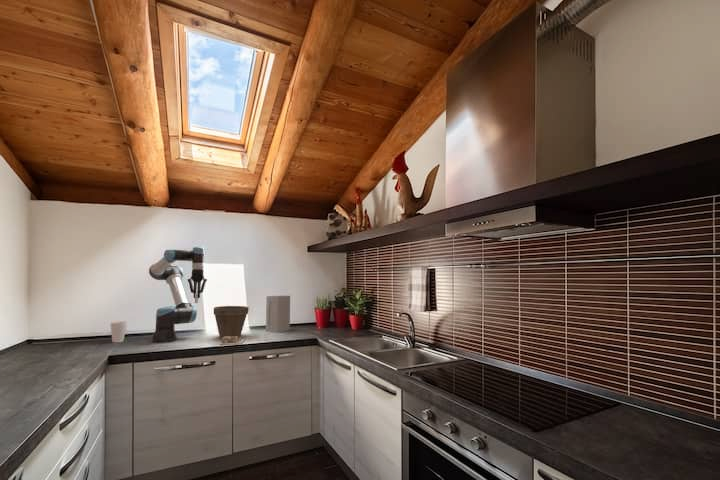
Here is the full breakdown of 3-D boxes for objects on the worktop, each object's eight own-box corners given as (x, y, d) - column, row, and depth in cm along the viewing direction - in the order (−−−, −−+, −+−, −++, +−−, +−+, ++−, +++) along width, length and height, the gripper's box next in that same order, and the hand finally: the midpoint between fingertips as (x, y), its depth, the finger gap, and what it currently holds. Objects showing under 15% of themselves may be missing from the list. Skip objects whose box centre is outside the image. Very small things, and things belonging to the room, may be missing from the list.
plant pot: (254, 335, 279) (255, 306, 280) (231, 340, 256) (231, 309, 258) (230, 332, 289) (230, 305, 291) (205, 337, 267) (206, 307, 269)
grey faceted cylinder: (267, 333, 287) (267, 297, 290) (265, 330, 301) (266, 296, 304) (291, 331, 293) (292, 296, 296) (289, 329, 307) (289, 295, 310)
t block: (222, 344, 244) (222, 338, 244) (225, 341, 252) (225, 336, 252) (236, 343, 245) (236, 337, 245) (238, 341, 253) (238, 335, 253)
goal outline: (219, 345, 241) (219, 343, 241) (224, 341, 254) (224, 340, 254) (241, 344, 243) (241, 343, 243) (244, 340, 256) (244, 339, 256)
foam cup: (127, 341, 253) (128, 322, 254) (111, 343, 247) (112, 323, 248) (123, 339, 260) (124, 321, 261) (108, 341, 253) (109, 322, 254)
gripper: (186, 269, 253) (184, 303, 251) (205, 269, 255) (204, 303, 253) (189, 269, 261) (188, 302, 259) (208, 269, 262) (207, 302, 260)
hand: (196, 302), depth 256 cm, fingers closed
